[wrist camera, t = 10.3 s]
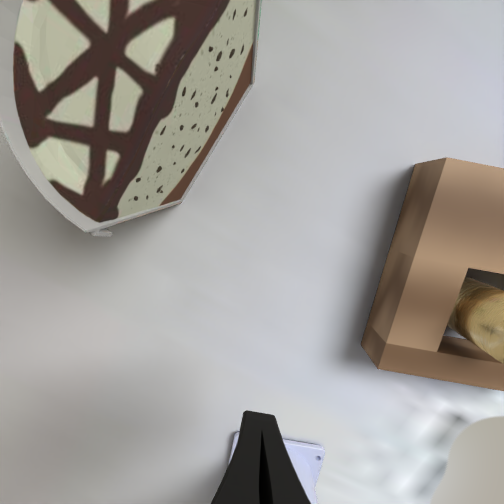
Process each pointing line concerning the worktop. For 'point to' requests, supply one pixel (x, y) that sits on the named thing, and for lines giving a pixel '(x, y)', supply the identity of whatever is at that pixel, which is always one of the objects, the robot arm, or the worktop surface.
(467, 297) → the gold rounded cylinder
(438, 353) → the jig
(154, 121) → the food container
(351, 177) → the worktop surface
